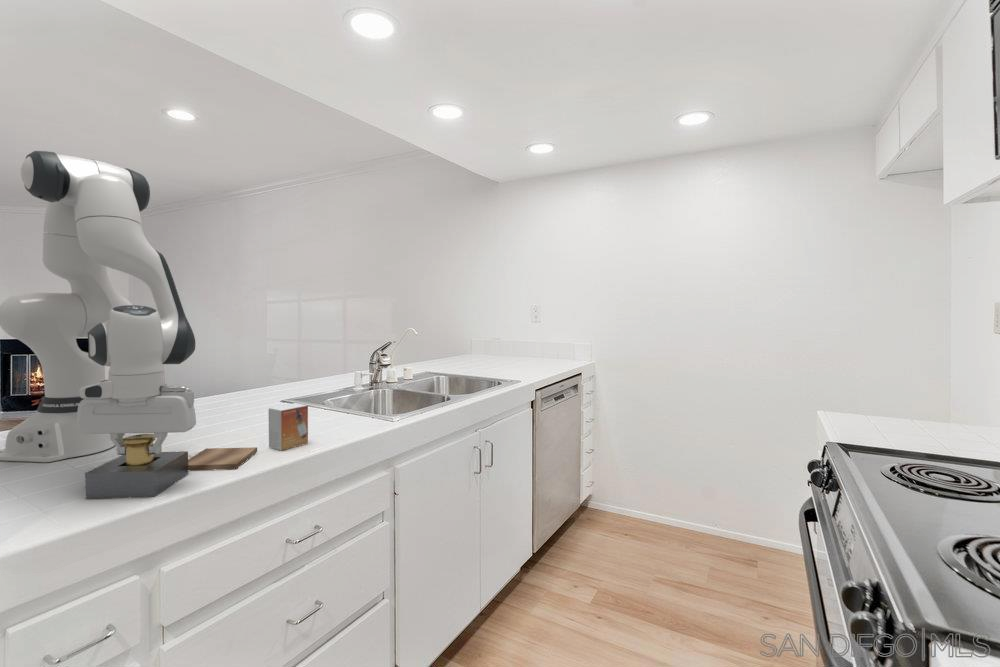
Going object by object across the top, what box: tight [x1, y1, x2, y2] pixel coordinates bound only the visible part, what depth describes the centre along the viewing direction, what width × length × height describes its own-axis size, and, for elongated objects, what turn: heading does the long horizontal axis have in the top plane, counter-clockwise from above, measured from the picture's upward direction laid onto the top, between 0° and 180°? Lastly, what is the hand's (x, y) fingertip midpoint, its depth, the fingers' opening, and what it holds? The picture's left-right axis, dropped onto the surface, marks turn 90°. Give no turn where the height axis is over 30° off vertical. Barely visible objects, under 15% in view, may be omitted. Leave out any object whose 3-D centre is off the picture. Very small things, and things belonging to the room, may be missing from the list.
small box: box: [268, 402, 309, 451], centre depth 121 cm, size 8×6×10 cm
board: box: [188, 446, 258, 471], centre depth 108 cm, size 12×12×1 cm
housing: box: [84, 450, 190, 500], centre depth 93 cm, size 12×12×5 cm
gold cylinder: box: [123, 433, 156, 466], centre depth 93 cm, size 5×5×10 cm
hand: (139, 453), depth 93 cm, fingers closed on gold cylinder, 4 cm apart
